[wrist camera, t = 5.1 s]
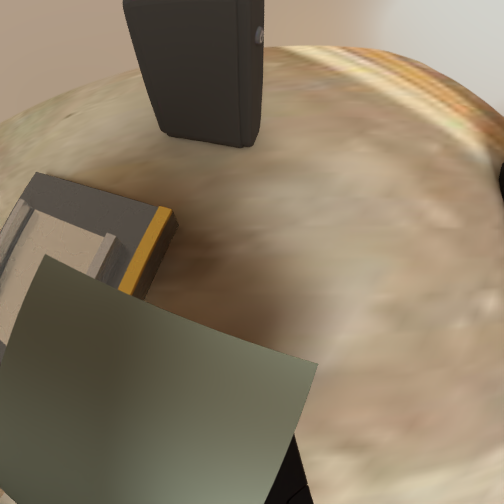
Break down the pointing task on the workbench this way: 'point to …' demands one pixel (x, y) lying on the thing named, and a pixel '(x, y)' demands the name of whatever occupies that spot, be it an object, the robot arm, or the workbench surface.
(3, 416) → the layered pillar on plinth
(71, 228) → the dock plate
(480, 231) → the workbench surface
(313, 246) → the workbench surface
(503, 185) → the power tool
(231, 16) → the card reader
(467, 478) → the workbench surface
